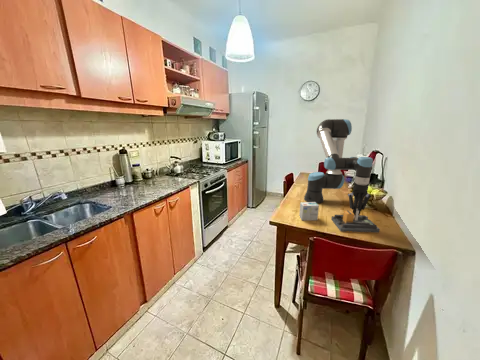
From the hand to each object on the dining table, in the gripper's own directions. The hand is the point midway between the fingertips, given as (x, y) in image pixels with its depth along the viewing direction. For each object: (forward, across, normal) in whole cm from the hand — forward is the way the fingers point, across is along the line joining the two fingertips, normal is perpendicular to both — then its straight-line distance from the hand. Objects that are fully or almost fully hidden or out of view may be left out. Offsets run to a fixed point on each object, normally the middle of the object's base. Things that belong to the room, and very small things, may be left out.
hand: (355, 219), depth 125 cm
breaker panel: (+4, 0, 0) cm, 4 cm away
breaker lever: (+2, -4, 0) cm, 5 cm away
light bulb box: (+5, -26, +9) cm, 28 cm away
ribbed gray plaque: (+2, 0, 0) cm, 2 cm away
